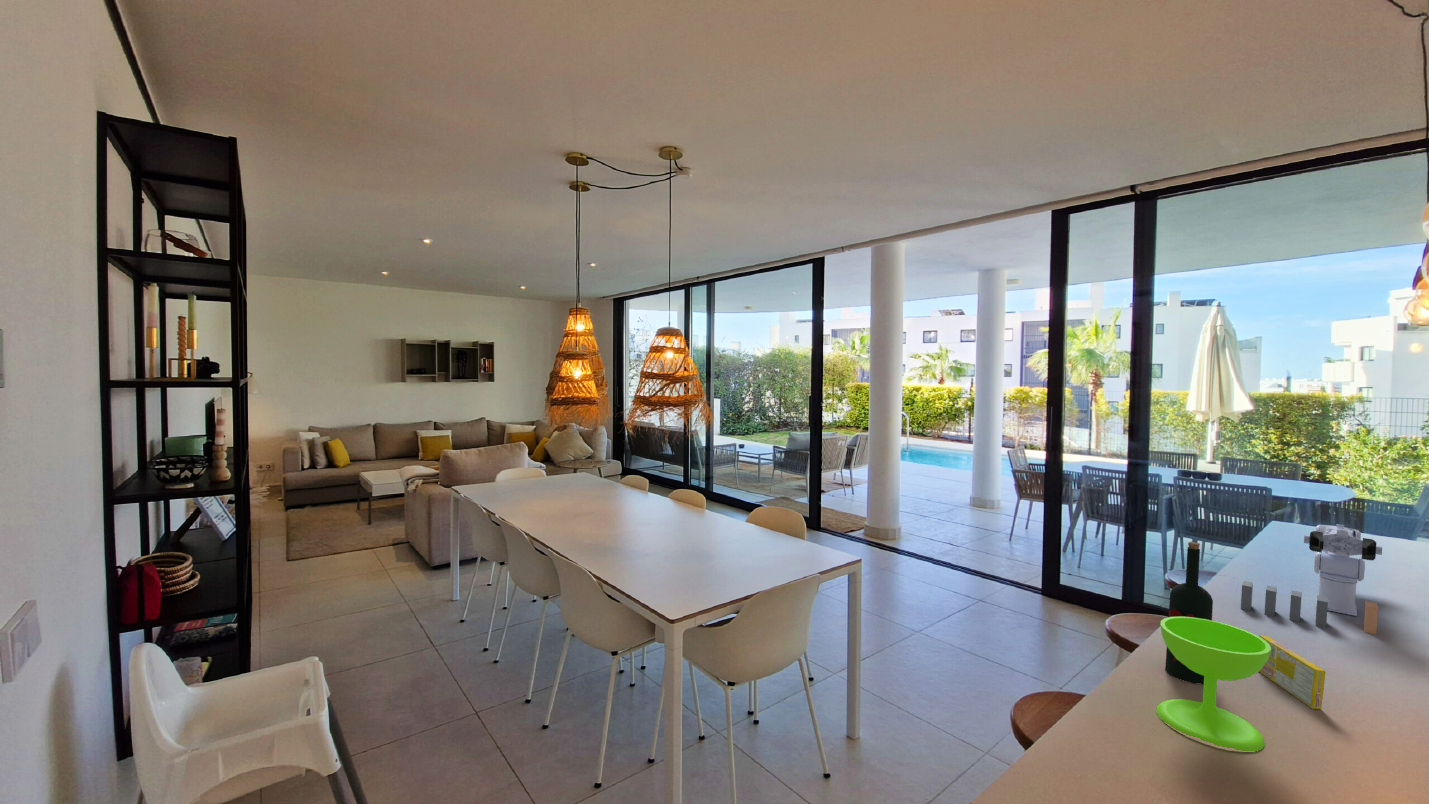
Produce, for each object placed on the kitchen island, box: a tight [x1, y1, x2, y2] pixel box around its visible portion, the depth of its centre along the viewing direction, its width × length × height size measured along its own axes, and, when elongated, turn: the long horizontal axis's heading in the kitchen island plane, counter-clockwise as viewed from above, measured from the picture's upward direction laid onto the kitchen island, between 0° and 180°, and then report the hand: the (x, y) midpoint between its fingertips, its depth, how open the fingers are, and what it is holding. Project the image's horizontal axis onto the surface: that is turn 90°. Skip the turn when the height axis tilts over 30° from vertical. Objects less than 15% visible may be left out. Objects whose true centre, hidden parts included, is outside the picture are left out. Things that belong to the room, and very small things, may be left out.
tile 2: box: [1315, 594, 1328, 628], centre depth 158 cm, size 5×2×7 cm, turn 134°
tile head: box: [1363, 600, 1379, 635], centre depth 154 cm, size 5×2×7 cm, turn 134°
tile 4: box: [1264, 585, 1278, 617], centre depth 165 cm, size 5×2×7 cm, turn 134°
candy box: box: [1258, 634, 1326, 710], centre depth 125 cm, size 16×2×8 cm, turn 168°
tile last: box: [1240, 580, 1254, 612], centre depth 168 cm, size 5×2×7 cm, turn 134°
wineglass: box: [1155, 616, 1271, 752], centre depth 111 cm, size 16×16×18 cm
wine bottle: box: [1164, 541, 1214, 685], centre depth 129 cm, size 8×10×30 cm
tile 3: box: [1289, 589, 1303, 623], centre depth 161 cm, size 5×2×7 cm, turn 134°
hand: (1342, 548), depth 154 cm, fingers open, 7 cm apart
